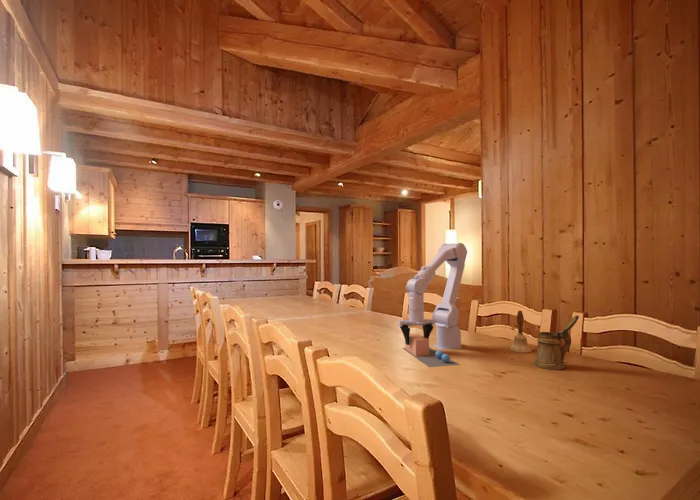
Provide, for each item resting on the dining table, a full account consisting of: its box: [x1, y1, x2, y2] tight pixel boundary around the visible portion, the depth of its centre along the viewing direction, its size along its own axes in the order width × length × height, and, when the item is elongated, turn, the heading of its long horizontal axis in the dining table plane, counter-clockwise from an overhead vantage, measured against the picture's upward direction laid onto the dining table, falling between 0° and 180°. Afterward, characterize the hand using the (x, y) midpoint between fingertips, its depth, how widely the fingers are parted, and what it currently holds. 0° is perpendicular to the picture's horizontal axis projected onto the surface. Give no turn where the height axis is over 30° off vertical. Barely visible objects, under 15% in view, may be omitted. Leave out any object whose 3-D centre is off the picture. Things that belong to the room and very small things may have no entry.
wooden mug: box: [534, 315, 580, 371], centre depth 121 cm, size 9×14×18 cm, turn 68°
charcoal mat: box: [402, 346, 461, 368], centre depth 133 cm, size 12×26×1 cm, turn 12°
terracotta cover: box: [404, 333, 430, 356], centre depth 139 cm, size 5×11×6 cm, turn 13°
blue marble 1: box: [435, 349, 445, 359], centre depth 130 cm, size 3×3×3 cm
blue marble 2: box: [441, 353, 451, 363], centre depth 125 cm, size 3×3×3 cm
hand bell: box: [509, 310, 533, 354], centre depth 144 cm, size 8×8×16 cm
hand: (416, 343), depth 139 cm, fingers open, 7 cm apart
